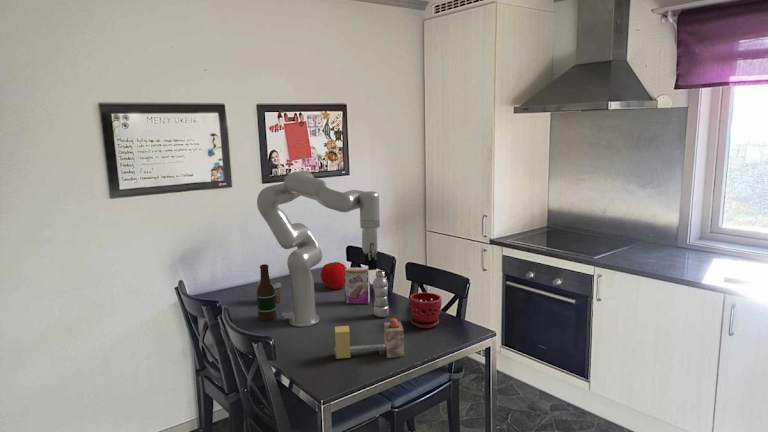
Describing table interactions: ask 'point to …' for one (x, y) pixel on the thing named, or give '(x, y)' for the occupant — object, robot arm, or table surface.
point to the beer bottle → (266, 296)
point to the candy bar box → (357, 286)
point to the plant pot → (425, 309)
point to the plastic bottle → (380, 294)
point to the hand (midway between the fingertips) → (370, 266)
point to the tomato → (333, 275)
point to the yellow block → (342, 342)
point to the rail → (367, 348)
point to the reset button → (393, 323)
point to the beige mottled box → (394, 340)
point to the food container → (277, 290)
